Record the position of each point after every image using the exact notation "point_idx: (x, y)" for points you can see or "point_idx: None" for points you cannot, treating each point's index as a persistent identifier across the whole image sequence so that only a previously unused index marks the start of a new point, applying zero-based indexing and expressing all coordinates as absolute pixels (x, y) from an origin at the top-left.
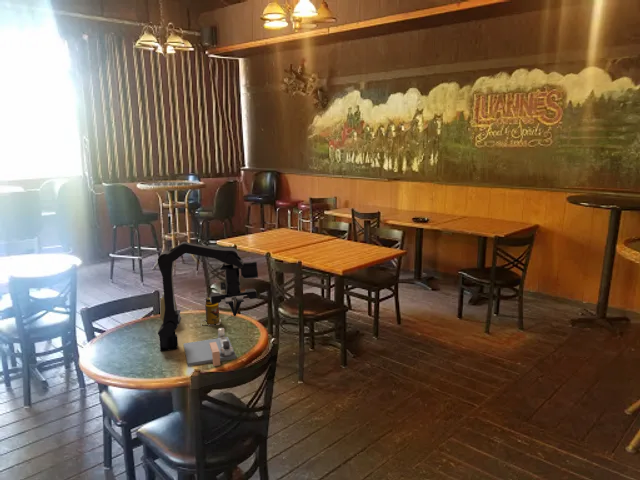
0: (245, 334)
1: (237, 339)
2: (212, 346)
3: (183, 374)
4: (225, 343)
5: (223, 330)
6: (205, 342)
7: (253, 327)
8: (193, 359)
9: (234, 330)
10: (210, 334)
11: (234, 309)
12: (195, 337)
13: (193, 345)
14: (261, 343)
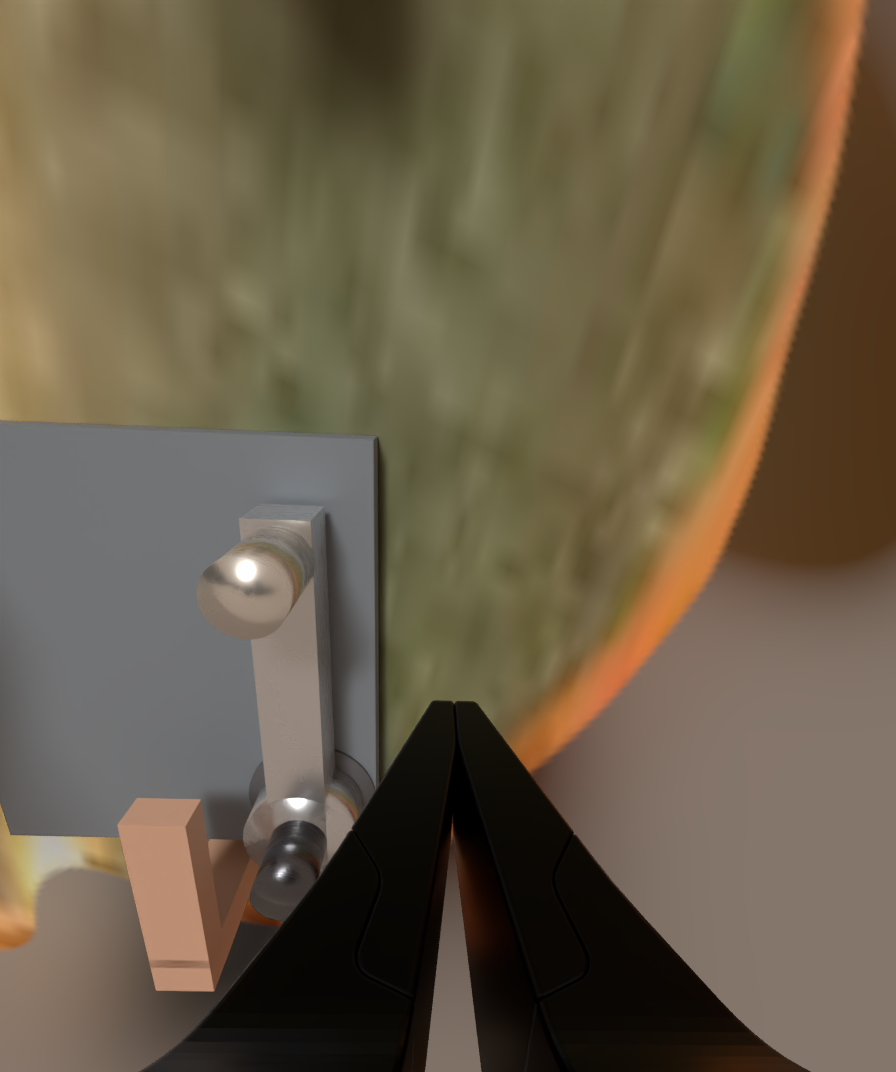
0: (588, 373)
1: (472, 476)
2: (151, 902)
3: (19, 895)
4: (272, 918)
5: (278, 625)
6: (125, 495)
7: (759, 168)
8: (46, 795)
9: (507, 163)
10: (192, 166)
11: (469, 806)
12: (2, 188)
13: (1, 521)
14: (644, 655)
